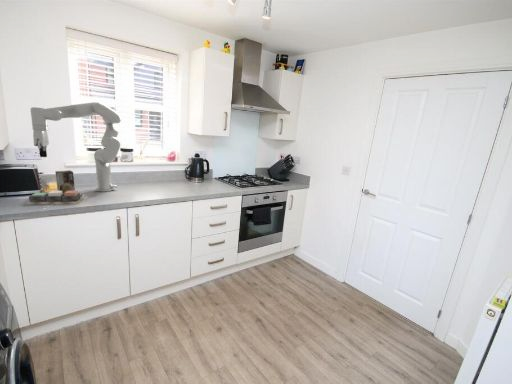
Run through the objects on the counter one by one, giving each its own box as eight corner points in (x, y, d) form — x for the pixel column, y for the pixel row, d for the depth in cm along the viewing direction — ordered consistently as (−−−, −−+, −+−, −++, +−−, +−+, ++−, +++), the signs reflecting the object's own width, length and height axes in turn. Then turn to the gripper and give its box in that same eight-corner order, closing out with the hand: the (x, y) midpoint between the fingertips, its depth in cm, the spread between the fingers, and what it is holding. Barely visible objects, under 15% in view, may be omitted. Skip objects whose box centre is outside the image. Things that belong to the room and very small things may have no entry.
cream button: (62, 195, 171) (62, 190, 171) (59, 198, 166) (59, 192, 165) (52, 195, 169) (51, 190, 169) (48, 198, 164) (48, 193, 163)
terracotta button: (78, 195, 174) (77, 190, 173) (75, 198, 169) (75, 192, 168) (67, 195, 172) (67, 190, 171) (64, 198, 167) (64, 192, 166)
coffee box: (72, 191, 192) (70, 170, 188) (75, 193, 188) (73, 171, 184) (57, 193, 185) (55, 171, 181) (60, 195, 181) (58, 172, 177)
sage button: (47, 197, 169) (46, 192, 168) (43, 200, 163) (43, 195, 163) (36, 198, 167) (35, 192, 166) (32, 200, 161) (31, 195, 161)
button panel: (83, 198, 178) (82, 192, 177) (78, 203, 168) (77, 196, 167) (34, 199, 169) (33, 192, 168) (26, 204, 159) (25, 197, 158)
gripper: (38, 127, 170) (41, 155, 175) (27, 127, 157) (31, 158, 161) (51, 128, 173) (54, 155, 177) (42, 128, 159) (46, 158, 164)
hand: (43, 156), depth 169 cm, fingers closed
